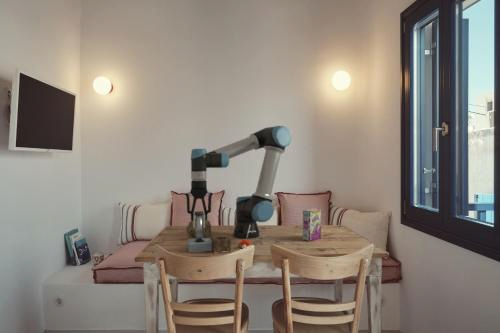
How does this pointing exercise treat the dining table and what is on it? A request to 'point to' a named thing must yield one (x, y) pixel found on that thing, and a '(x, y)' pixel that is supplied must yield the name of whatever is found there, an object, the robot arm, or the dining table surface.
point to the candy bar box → (311, 224)
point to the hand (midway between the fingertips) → (199, 227)
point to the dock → (199, 245)
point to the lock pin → (199, 226)
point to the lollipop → (245, 242)
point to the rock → (205, 229)
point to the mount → (221, 243)
